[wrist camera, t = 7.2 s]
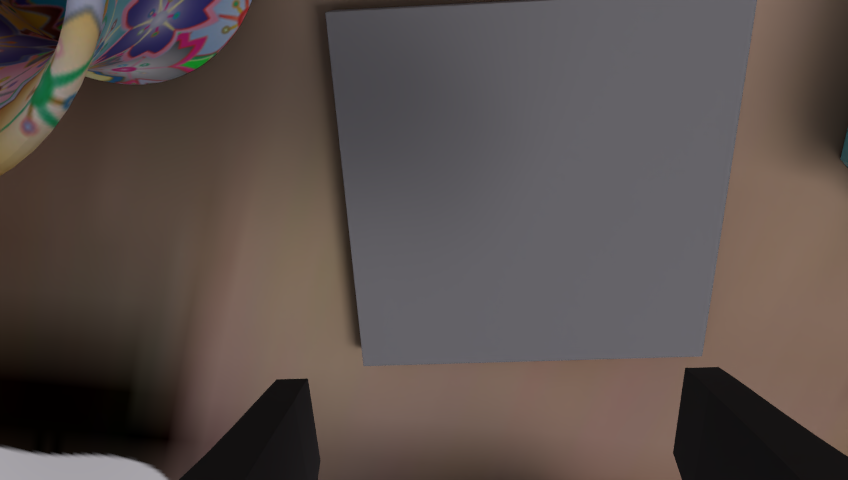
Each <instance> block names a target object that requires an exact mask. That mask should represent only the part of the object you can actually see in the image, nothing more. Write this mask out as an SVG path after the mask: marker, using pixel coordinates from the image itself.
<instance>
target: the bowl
mask: <svg viewBox="0 0 848 480" xmlns="http://www.w3.org/2000/svg"><path fill="white" fill-rule="evenodd" d="M840 160H841V161H842V162H843V163H844V164H845V165H846V166H847V167H848V128H847V132H846V137H845V141H844V146H843V150H842V154H841V159H840Z"/></svg>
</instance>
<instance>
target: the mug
mask: <svg viewBox="0 0 848 480" xmlns="http://www.w3.org/2000/svg"><path fill="white" fill-rule="evenodd" d="M251 1H252V0H0V176H1V175H2V174H4V173H6V172H7V171H9V170H10V169H12V168H13V167H15V166H16V165H17V164H19V163H20V162H21V161H22V160H23V159H25V158H26V157H27V156H28V155H29V154H31V153H32V152H33V151H34V150H35V149H36V148H37V147H38V146H39V145H40V144H41V143H42V142H43V141H44V139H45V138H46V137H47V136H48V135H49V134H50V133H51V132H52V131H53V129H54V128H55V126H56V125H57V124H58V122H59V121H60V119H61V118H62V117H63V115H64V114H65V113H66V111H67V110H68V108H69V107H70V105H71V103H72V101H73V99H74V98H75V96H76V94H77V92H78V90H79V88H80V87H81V85H82V83H83V80H84V78H85V76H86V77H89V78H93V79H96V80H100V81H106V82H111V83H117V84H129V85H136V84H151V83H159V82H163V81H167V80H171V79H174V78H177V77H180V76H183V75H185V74H187V73H189V72H191V71H193V70H195V69H197V68H198V67H200V66H202V65H203V64H205V63H206V62H208V61H209V60H210V59H211V58H213V57H214V56H215V55H216V54H217V53H218V52H219V51H220V50H221V49H222V48H223V47H224V46H225V45H226V44H227V43H228V42H229V40H230V39H231V38H232V37H233V35H234V34H235V33H236V31H237V29H238V28H239V26H240V25H241V23H242V21H243V19H244V17H245V15H246V13H247V11H248V9H249V7H250V4H251Z"/></svg>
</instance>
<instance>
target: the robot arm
mask: <svg viewBox="0 0 848 480" xmlns="http://www.w3.org/2000/svg"><path fill="white" fill-rule="evenodd" d="M673 454H674V457H675V460H676V463H677V466H678V469H679V472H680V475H681V478H682V480H848V457H847V456H846V455H844V454H843V453H841V452H840V451H838V450H837V449H835V448H834V447H832V446H831V445H829V444H828V443H826V442H825V441H823V440H822V439H820V438H819V437H817V436H816V435H814V434H813V433H811V432H810V431H809V430H807V429H806V428H804V427H803V426H801V425H800V424H798V423H797V422H796V421H794V420H793V419H791V418H790V417H789V416H787V415H786V414H784V413H783V412H781V411H780V410H779V409H777V408H776V407H774V406H773V405H772V404H770V403H769V402H768V401H766V400H765V399H763V398H762V397H761V396H759V395H758V394H756V393H755V392H754V391H752V390H751V389H749V388H748V387H747V386H745V385H744V384H742V383H741V382H740V381H738V380H737V379H735V378H734V377H732V376H731V375H730V374H728V373H727V372H725V371H723V370H722V369H720V368H719V367H707V368H685V374H684V381H683V388H682V395H681V402H680V409H679V416H678V423H677V430H676V437H675V444H674V451H673ZM319 466H320V455H319V449H318V442H317V436H316V429H315V423H314V416H313V410H312V403H311V397H310V390H309V384H308V379H280V380H276V381H275V382H274V383H273V384H272V385H271V386H270V387H269V388H268V389H267V390H266V391H265V392H264V393H263V395H262V396H261V397H260V398H259V399H258V400H257V401H256V402H255V403H254V404H253V405H252V406H251V408H250V409H249V410H248V411H247V412H246V413H245V414H244V415H243V416H242V417H241V418H240V419H239V421H238V422H237V423H236V424H235V425H234V426H233V427H232V428H231V429H230V430H229V431H228V432H227V433H226V434H225V435H224V436H223V437H222V438H221V439H220V440H219V441H218V442H217V443H216V444H215V446H214V447H213V448H212V449H211V450H210V451H209V452H208V453H207V454H206V455H205V456H204V457H203V458H202V459H201V460H200V461H198V462H197V463H196V464H195V465H194V466H193V467H192V468H191V469H190V470H189V471H188V472H187V473H186V474H185V475H184V476H183V477H181V478H180V479H179V480H318V473H319Z"/></svg>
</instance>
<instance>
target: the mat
mask: <svg viewBox="0 0 848 480" xmlns="http://www.w3.org/2000/svg"><path fill="white" fill-rule="evenodd" d="M756 3H757V0H516V1H497V2H479V3H460V4H441V5H423V6H404V7H385V8H366V9H348V10H331V11H328V12H325V14H326V23H327V33H328V42H329V51H330V60H331V69H332V79H333V88H334V97H335V106H336V116H337V125H338V134H339V143H340V152H341V162H342V171H343V180H344V189H345V199H346V208H347V217H348V226H349V236H350V245H351V254H352V263H353V272H354V282H355V291H356V300H357V309H358V319H359V328H360V337H361V346H362V356H363V365H364V366H381V365H416V364H451V363H486V362H520V361H555V360H590V359H624V358H659V357H694V356H702V352H703V346H704V339H705V333H706V327H707V320H708V314H709V307H710V301H711V294H712V288H713V281H714V275H715V268H716V262H717V255H718V249H719V243H720V236H721V230H722V223H723V217H724V210H725V204H726V197H727V191H728V184H729V178H730V171H731V165H732V159H733V152H734V146H735V139H736V133H737V126H738V120H739V113H740V107H741V100H742V94H743V87H744V81H745V74H746V68H747V62H748V55H749V49H750V42H751V36H752V29H753V23H754V16H755V10H756Z"/></svg>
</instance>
